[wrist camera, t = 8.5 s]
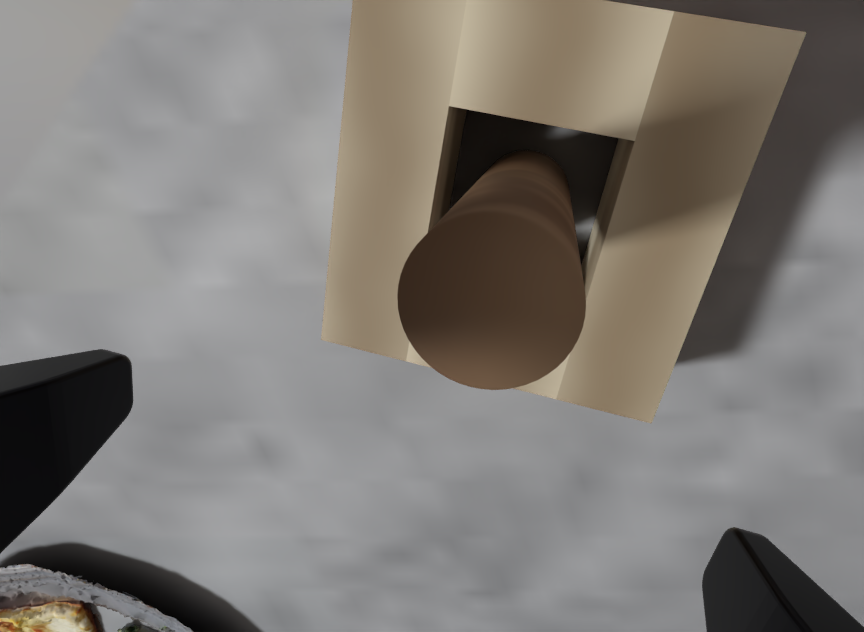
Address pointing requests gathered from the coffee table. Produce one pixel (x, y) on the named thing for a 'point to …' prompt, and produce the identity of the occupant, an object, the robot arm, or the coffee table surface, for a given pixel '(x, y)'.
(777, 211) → the coffee table surface
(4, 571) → the food plate
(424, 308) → the walnut peg
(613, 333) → the hole block
